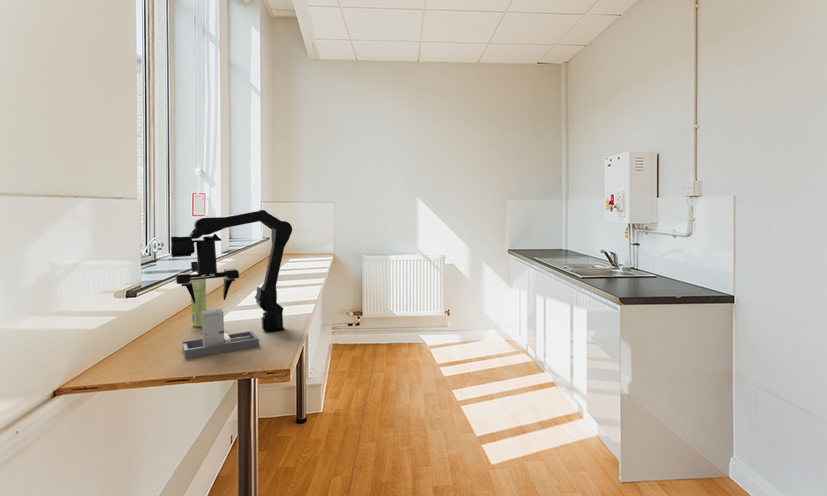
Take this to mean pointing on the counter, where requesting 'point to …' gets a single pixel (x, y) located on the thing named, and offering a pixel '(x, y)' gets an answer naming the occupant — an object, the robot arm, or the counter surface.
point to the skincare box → (212, 327)
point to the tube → (198, 301)
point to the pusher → (227, 338)
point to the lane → (219, 345)
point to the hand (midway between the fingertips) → (209, 301)
